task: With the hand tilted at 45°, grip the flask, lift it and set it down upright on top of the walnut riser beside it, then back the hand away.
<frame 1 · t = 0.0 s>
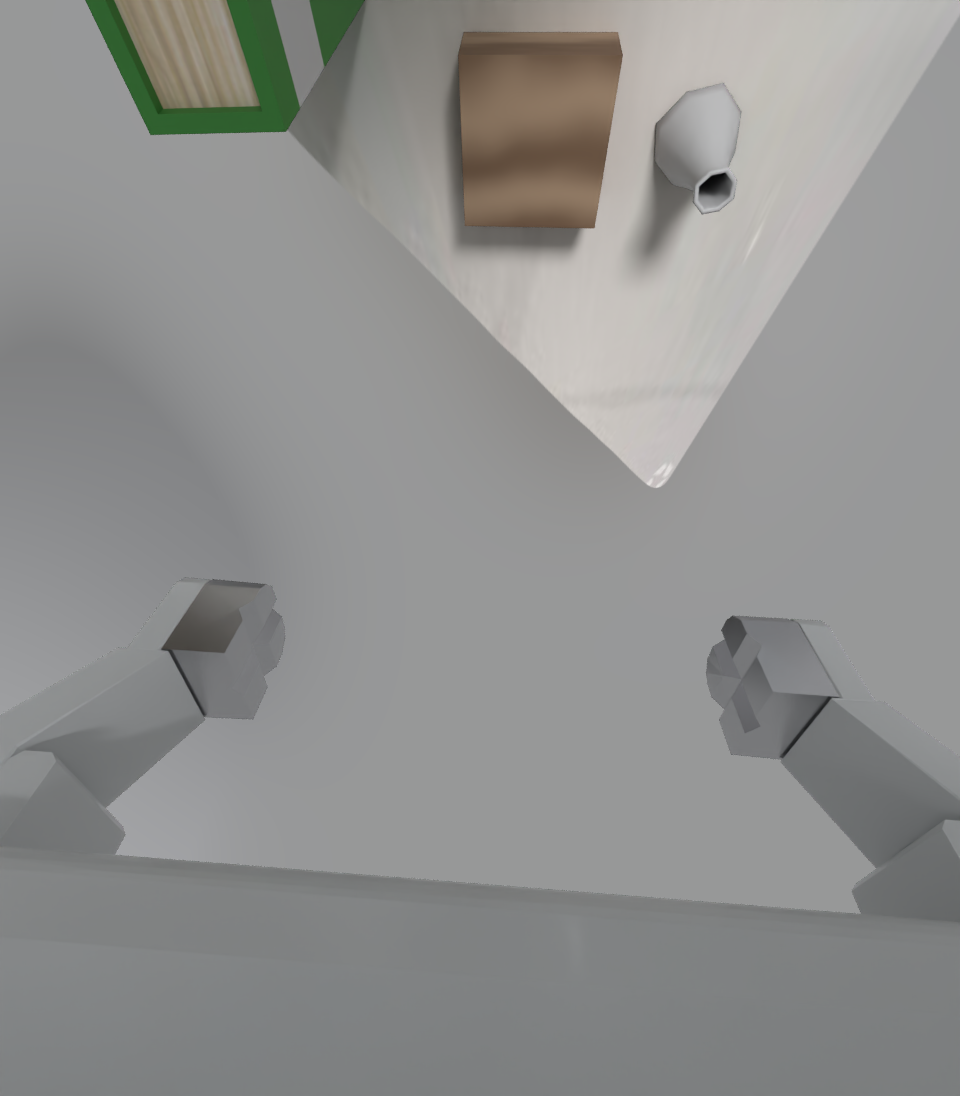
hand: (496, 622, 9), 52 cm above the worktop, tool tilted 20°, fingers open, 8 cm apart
flask: (695, 134, 46), on the worktop
walnut riser: (534, 125, 46), on the worktop
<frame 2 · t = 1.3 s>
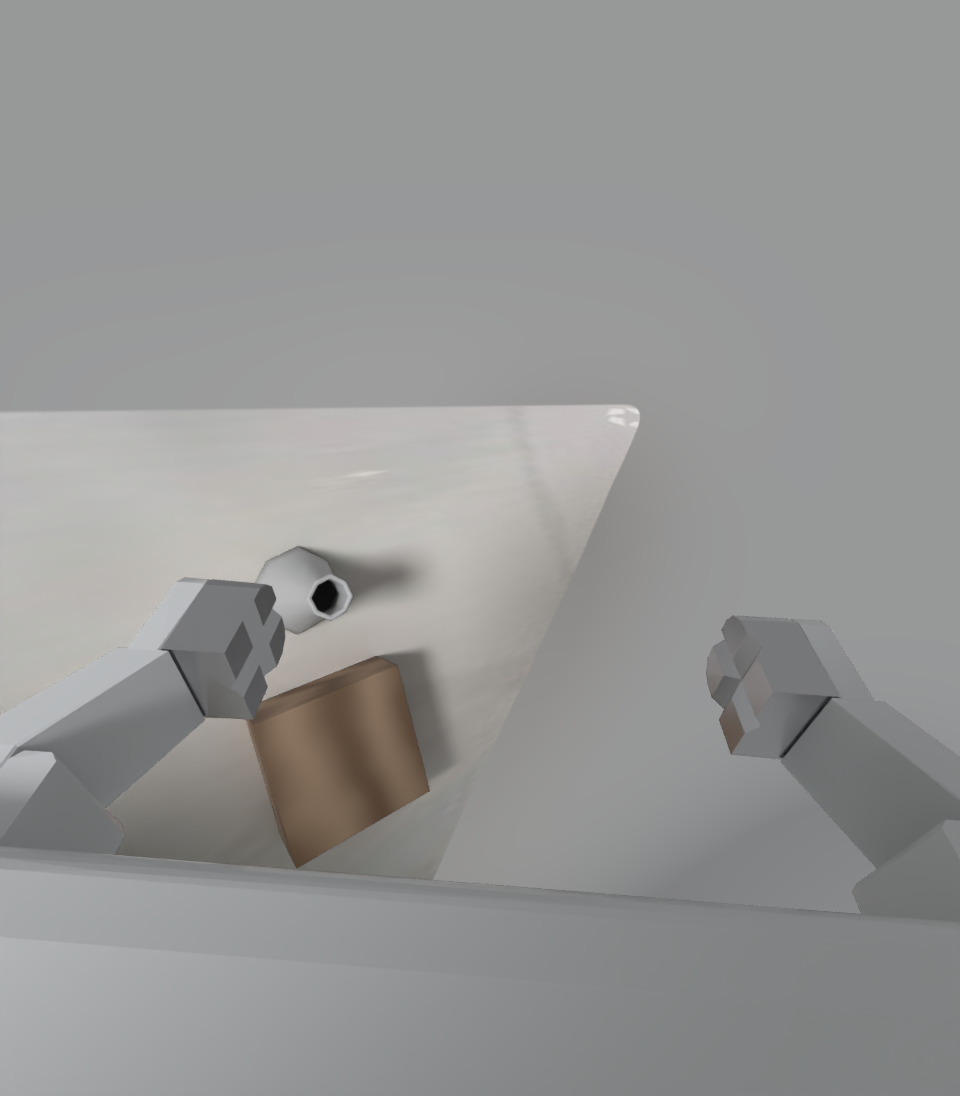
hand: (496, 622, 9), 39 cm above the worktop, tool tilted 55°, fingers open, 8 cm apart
flask: (296, 590, 46), on the worktop
walnut riser: (331, 743, 47), on the worktop
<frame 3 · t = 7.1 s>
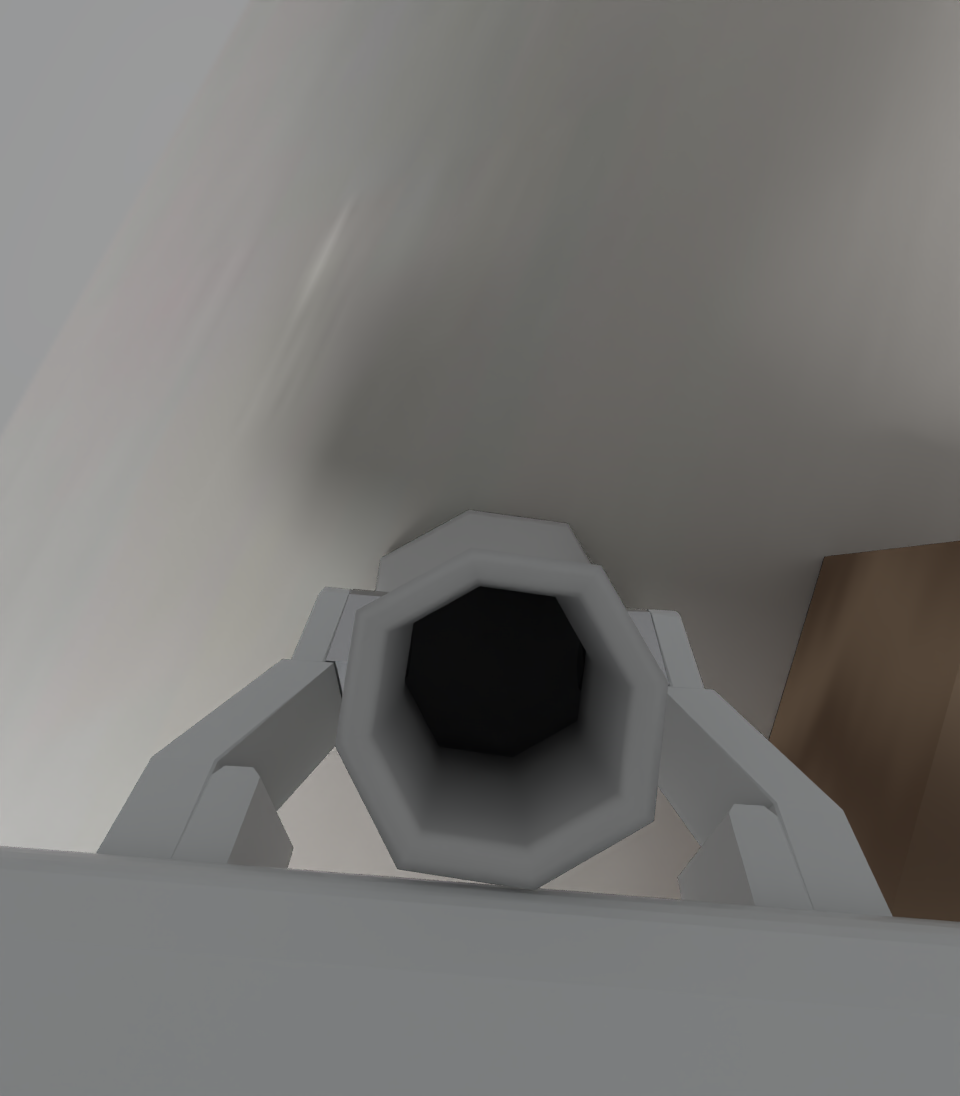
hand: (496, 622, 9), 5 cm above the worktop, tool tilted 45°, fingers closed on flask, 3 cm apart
flask: (491, 634, 15), on the worktop, touching gripper
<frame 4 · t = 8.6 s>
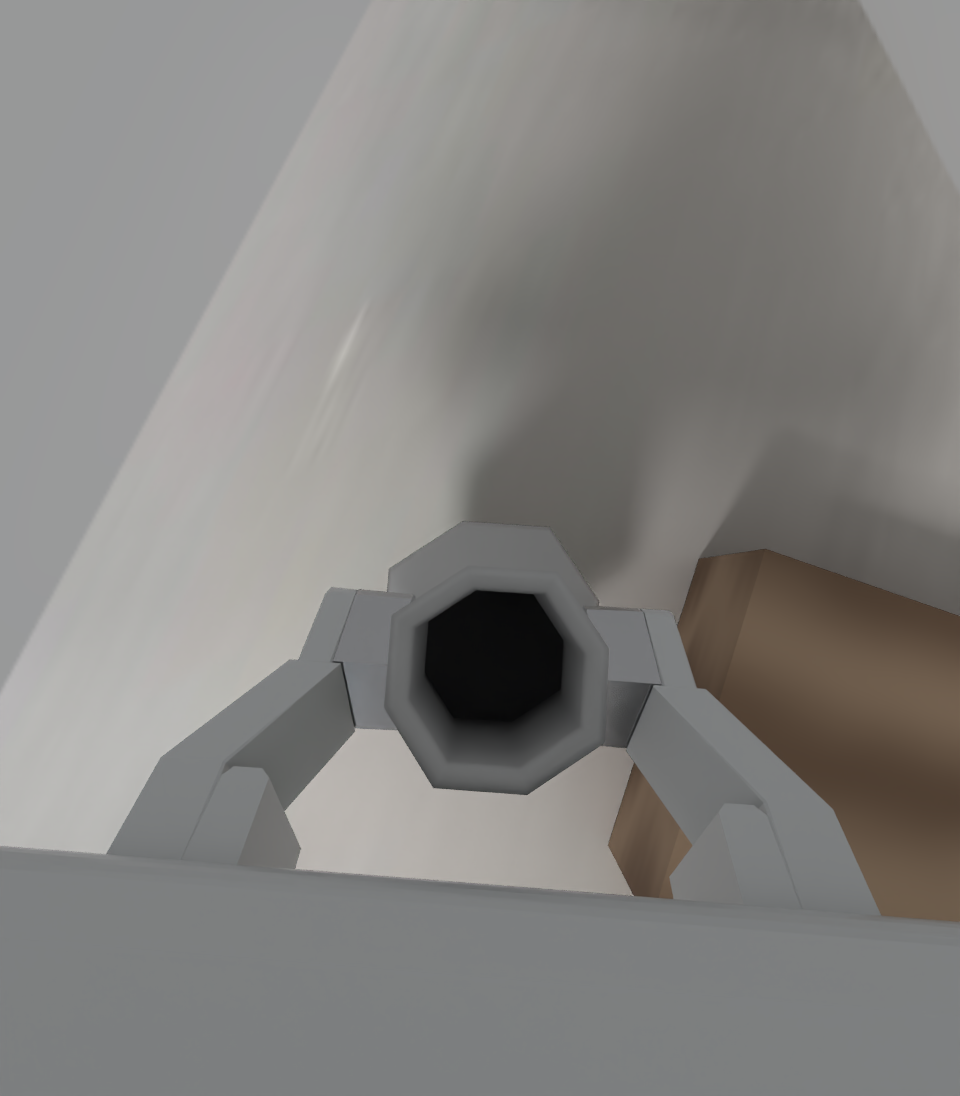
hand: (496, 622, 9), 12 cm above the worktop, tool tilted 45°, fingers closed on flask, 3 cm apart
flask: (490, 627, 17), point 4 cm above the worktop, touching gripper
walnut riser: (797, 749, 21), on the worktop
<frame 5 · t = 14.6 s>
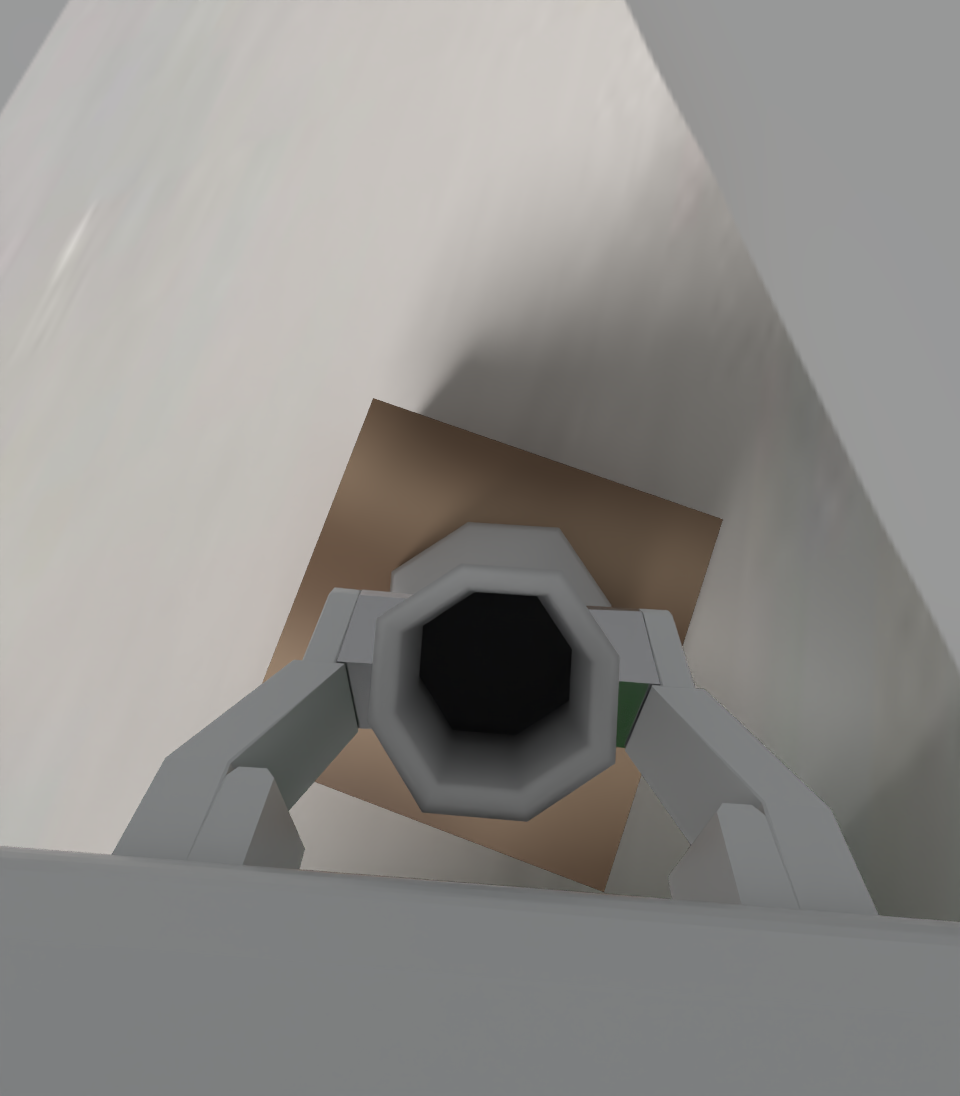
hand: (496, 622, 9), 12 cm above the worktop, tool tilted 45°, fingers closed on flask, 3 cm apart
flask: (497, 633, 16), point 5 cm above the worktop, touching gripper, walnut riser
walnut riser: (483, 625, 21), on the worktop
when the fingers open (12 cm above the worktop, at t = 14.6 s): flask stays where it is, resting on walnut riser.
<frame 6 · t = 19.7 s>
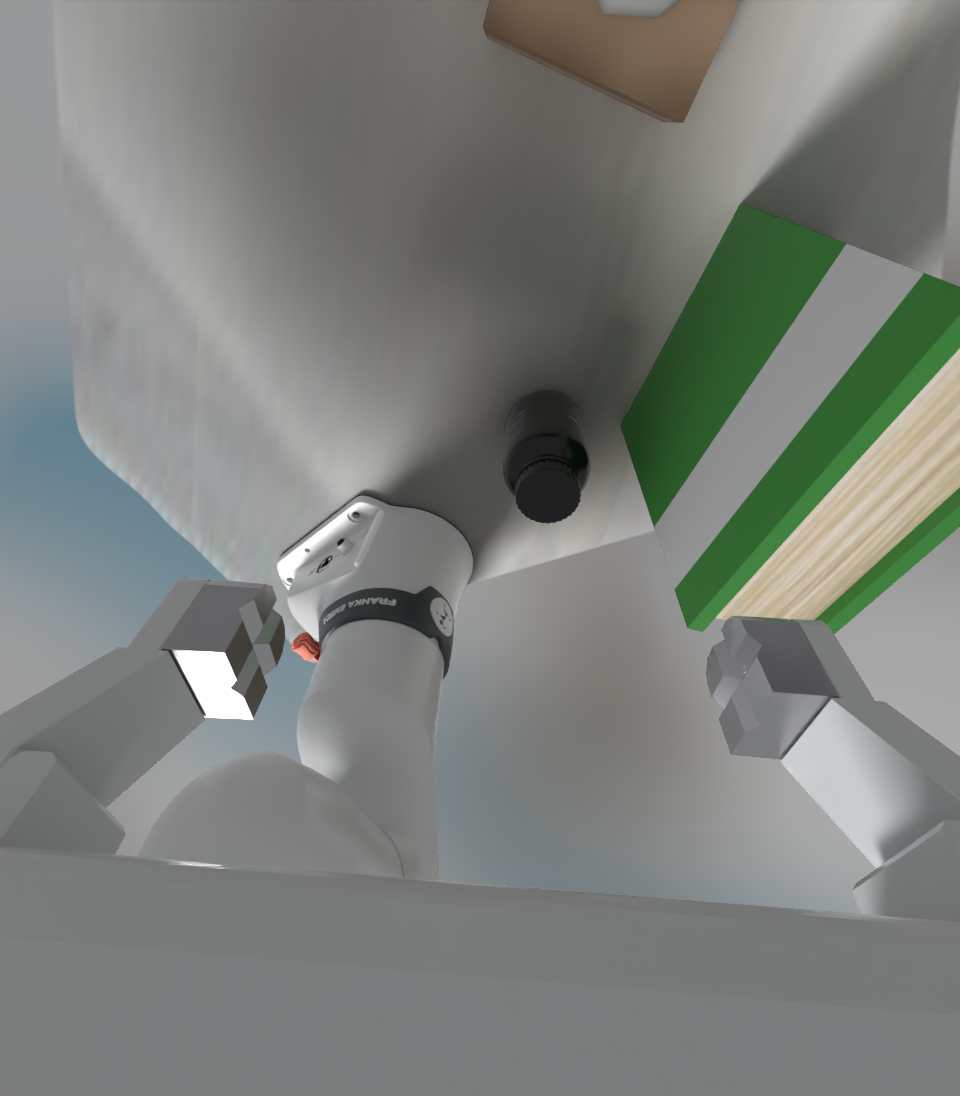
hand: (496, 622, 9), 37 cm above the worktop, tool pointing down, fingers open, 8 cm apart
supplement bottle: (543, 423, 47), on the worktop
hardback book: (713, 343, 42), on the worktop
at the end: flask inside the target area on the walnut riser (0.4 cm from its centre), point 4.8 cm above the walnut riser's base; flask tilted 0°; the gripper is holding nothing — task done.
